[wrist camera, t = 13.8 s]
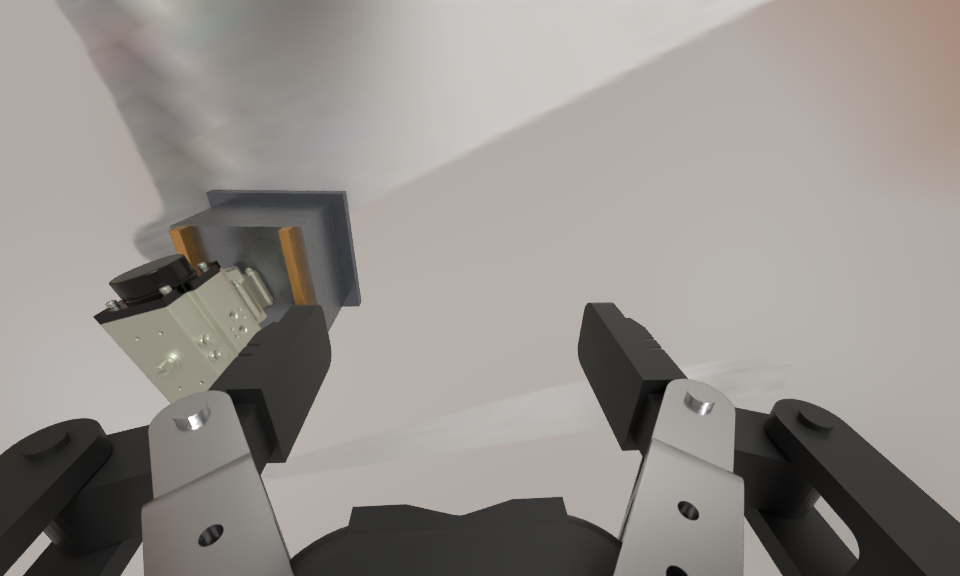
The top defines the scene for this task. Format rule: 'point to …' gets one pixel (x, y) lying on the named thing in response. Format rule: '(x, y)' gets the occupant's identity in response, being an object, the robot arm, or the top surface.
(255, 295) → the pneumatic valve
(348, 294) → the orange-striped grey block
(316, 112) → the top surface
